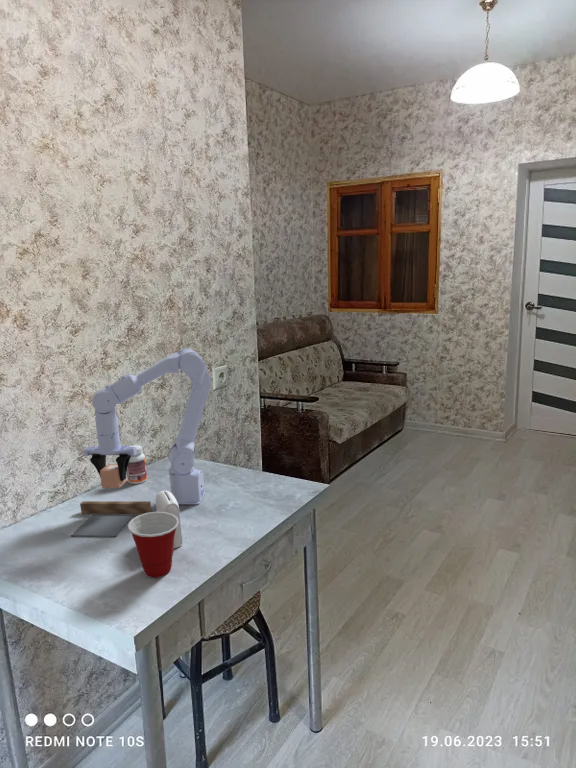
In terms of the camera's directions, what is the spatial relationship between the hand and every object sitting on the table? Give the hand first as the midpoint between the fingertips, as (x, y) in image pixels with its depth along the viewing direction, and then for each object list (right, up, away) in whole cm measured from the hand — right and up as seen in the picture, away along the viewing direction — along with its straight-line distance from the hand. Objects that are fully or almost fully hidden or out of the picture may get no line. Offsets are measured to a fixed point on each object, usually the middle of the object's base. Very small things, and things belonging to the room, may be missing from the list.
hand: (113, 479), depth 150 cm
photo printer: (+20, -12, -16) cm, 28 cm away
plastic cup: (+20, -15, -30) cm, 39 cm away
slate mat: (0, -11, -7) cm, 13 cm away
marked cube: (0, -1, 0) cm, 2 cm away
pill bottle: (0, -5, +24) cm, 24 cm away
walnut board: (0, -9, +1) cm, 9 cm away
